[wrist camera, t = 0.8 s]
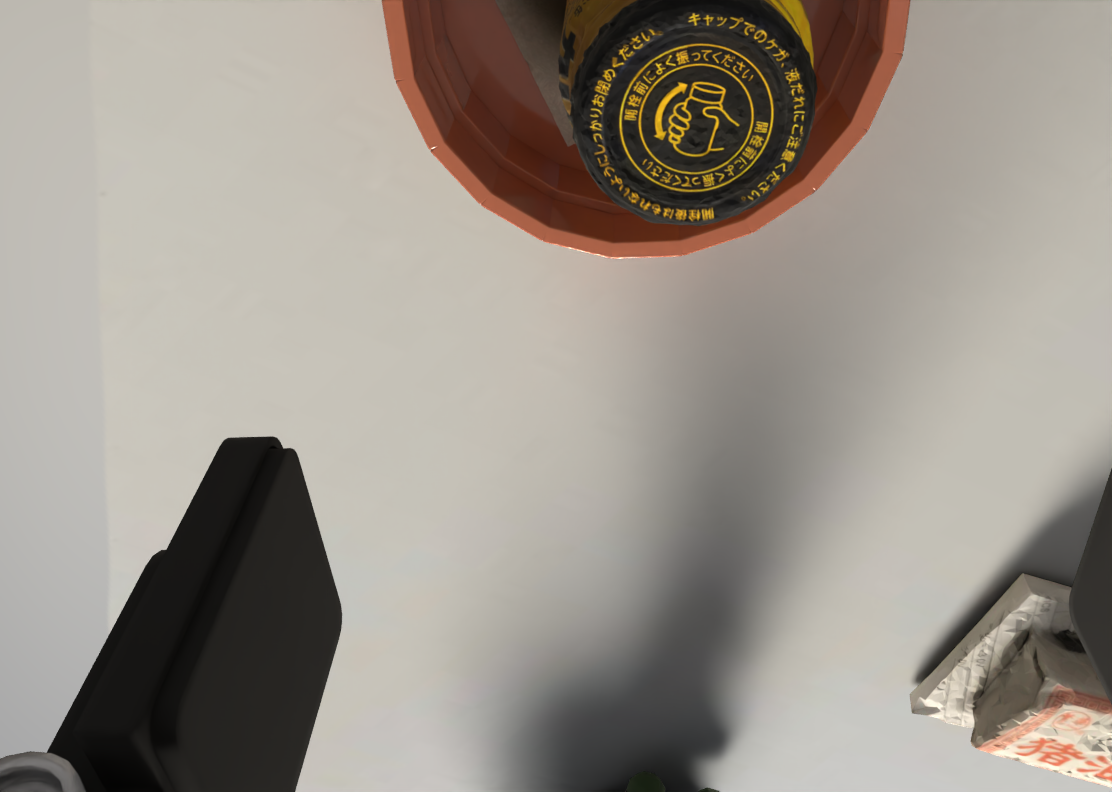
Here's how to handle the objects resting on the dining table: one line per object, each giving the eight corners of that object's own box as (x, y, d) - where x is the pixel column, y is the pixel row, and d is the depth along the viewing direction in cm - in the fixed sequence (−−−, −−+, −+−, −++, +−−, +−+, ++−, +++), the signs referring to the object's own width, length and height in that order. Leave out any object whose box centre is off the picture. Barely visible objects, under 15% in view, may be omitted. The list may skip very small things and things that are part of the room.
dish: (374, -273, 27) (337, -265, 24) (907, -316, 26) (954, -315, 22) (443, 206, 36) (424, 266, 32) (849, 189, 35) (876, 249, 31)
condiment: (808, 37, 31) (894, 198, 22) (567, 144, 34) (549, 332, 24) (728, -204, 28) (789, -141, 18) (464, -64, 30) (392, 59, 20)
